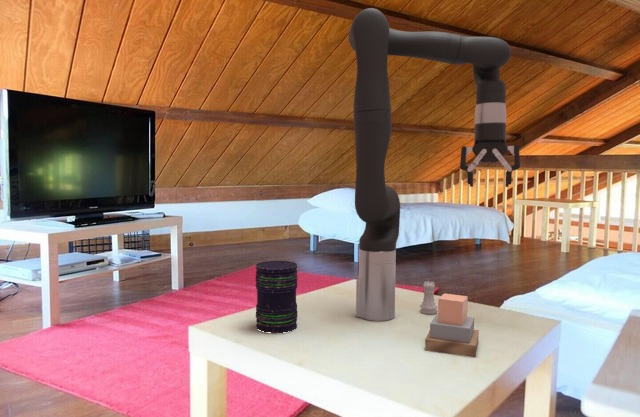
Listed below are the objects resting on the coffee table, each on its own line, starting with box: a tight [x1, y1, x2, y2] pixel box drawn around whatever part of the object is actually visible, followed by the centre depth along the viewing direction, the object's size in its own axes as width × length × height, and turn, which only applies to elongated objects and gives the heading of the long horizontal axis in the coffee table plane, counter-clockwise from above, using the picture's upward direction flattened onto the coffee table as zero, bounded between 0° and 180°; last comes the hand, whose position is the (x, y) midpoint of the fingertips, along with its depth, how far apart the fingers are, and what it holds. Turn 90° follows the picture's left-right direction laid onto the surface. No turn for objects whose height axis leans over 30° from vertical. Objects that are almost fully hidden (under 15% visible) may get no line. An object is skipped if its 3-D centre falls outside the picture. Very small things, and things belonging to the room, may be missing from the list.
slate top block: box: [429, 312, 475, 343], centre depth 103 cm, size 8×8×3 cm
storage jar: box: [255, 260, 299, 334], centre depth 114 cm, size 10×10×15 cm
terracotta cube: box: [437, 293, 469, 326], centre depth 102 cm, size 5×5×5 cm
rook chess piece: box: [419, 280, 438, 315], centre depth 126 cm, size 4×4×8 cm
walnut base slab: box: [424, 329, 480, 358], centre depth 103 cm, size 10×10×3 cm
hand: (489, 186), depth 123 cm, fingers open, 8 cm apart
